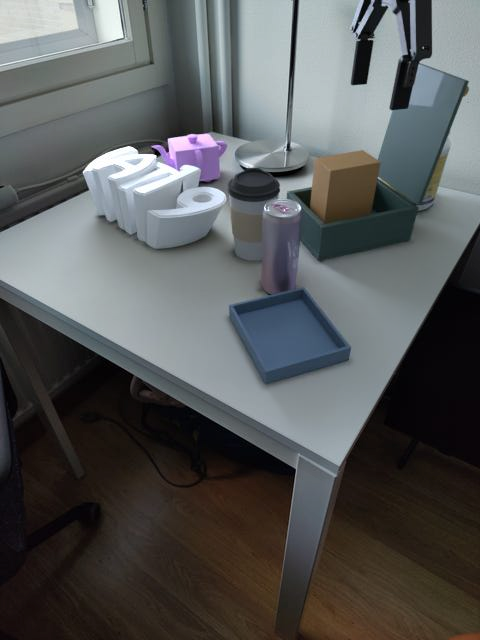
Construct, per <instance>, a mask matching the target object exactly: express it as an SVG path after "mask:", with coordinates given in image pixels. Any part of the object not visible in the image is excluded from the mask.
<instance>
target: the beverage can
mask: <svg viewBox="0 0 480 640" xmlns="http://www.w3.org/2000/svg"><path fill="white" fill-rule="evenodd" d="M301 223H302V212H301V206H300V204H298V203H297V202H295V201H292V200H288V199H286V198H279V199H276V200H272V201H270V202H268V203H267V204H266V205H265V207H264V212H263V231H262V260H261V270H260V271H261V274H260V275H261V276H260V277H261V278H260V283H261V284H260V285H261V287H262V289H263V290H264V292H266V293H267V294H268V295H273V294H277V293H281V292H285V291H290V290H294V289H296V286H297V279H298V268H299V258H300V257H299V255H300V245H301V240H300V234H301Z"/></svg>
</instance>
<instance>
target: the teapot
mask: <svg viewBox="0 0 480 640" xmlns="http://www.w3.org/2000/svg"><path fill="white" fill-rule="evenodd" d="M167 142H168V143H167V145H168V151H169V152H168V153H169V155H168V153H167V151H166V149H165V148H164V146H162V145H159V144H155V145H154V144H153V145H151V146H150V147H151V148H153V149H156V150H157V151H158V152H159V153H160V155H161V157H162V159H163V162H164V164H165V165H167V166H170V167H172V168H173V169H175V170H177V171H179V172H180V168H181V166H184V165H190V166H194V167H197V168H199V169H200V170H201V174H200V179H199V182H205V183H210V182H212V180H217V179H221V165H220V158H221V157H222V155H224V154H225V152H227V151H226V150H227V148H228V143H227V142H226V141H223V140H214V138H213V137H212V135H210V133H201V134H195V133H191V134H187V135H183V136H177V137H170V138H169V137H168V138H167Z"/></svg>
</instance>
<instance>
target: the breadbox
mask: <svg viewBox="0 0 480 640" xmlns="http://www.w3.org/2000/svg"><path fill="white" fill-rule="evenodd" d="M311 192H312V186H310V187H303V188H299V189H293V190H288V191H286V198H285V199H288V200H292V201H295V202H297V203H298V204H300V206H301V212H302V223H301V234H300V243H302V244H303V246H305V248H306V249H307V250H308V251H309V252H310V253H311V254H312V255H313V256H314V258H315V259H316V260H317V261H319V262H320V261H324V260H329V259H333V258H337V257H343V256H345V255H346V256H347V255H350V254H355V253H359V252H364V251H368V250H372V249H377V248H381V247H385V246H391V245H394V244H398V243H404V242H409V241H411V238H412V234H413V230H414V227H415V223H416V220H417V216H418V212H419V211H418V207H417V206H415V205H414V204H413V203H411V202H410V201H409V200H407V199H406V198H405V197H403V196H402V195H400V194H399V193H398V192H396V191H395V190H393V189H392V188H391V187H389V186H388V185H387V184H385V183H384V182H382V181H381V179H380V178H378V179H377V184H376V189H375V194H374V200H373V205H372V210H371V215H367V216H362V217H357V218H352V219H347V220H342V221H337V222H333V223H328V224H324V223H323V222H322V221H321V220H320V219H319V218H318V217H317V216H316V215H315V214H314V213H313V212H312V211H311V210H310V202H311Z"/></svg>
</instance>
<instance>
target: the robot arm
mask: <svg viewBox="0 0 480 640" xmlns="http://www.w3.org/2000/svg"><path fill="white" fill-rule="evenodd" d="M388 9H390V10H391V12H392V13H393V14H394V15H395V16H396V21H397V22H396V23H397V28H398V29H397V30H398V35H399V42H400V49H401V54H402V56H401V57H400V58H399V59H398V62H397V66H396V72H395V77H394V83H393V87H392V91H391V92H392V93H391V98H390V103H389V107H388V109H389V111H393V110H400V109H408V106H409V102H410V97H411V93H412V88H413V85H414V83H415V78H416V74H417V70H418V65H419V63H421V62H422V61H423V60H427V59H431V58H432V55H433V0H359V1H358V4H357V7H356V10H355V13H354V16H353V19H352V21H351V25H350V33H351V34H353V33H354V39H355V40H356V42H355V50H354V56H353V62H352V69H351V70H352V71H351V78H350V85H351V86H361V85H362V86H363V85H364V86H365V85H367V84H368V81H369V80H368V79H369V74H370V66H371V61H372V54H373V48H374V42H375V41H374V39H375V38H376V36H375V31H376V30H377V28H378V26H379V25H380V23H381V21H382V19H383V18H384V16H385V14H386V12H387V11H388Z"/></svg>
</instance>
